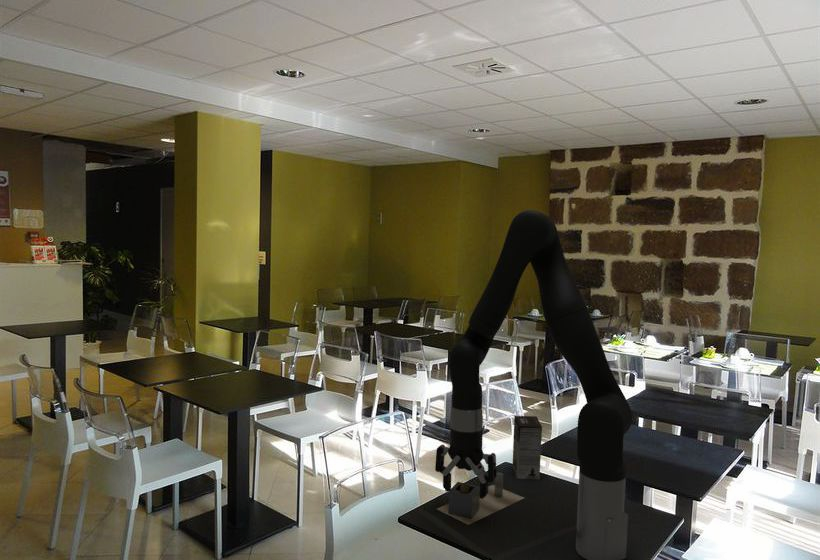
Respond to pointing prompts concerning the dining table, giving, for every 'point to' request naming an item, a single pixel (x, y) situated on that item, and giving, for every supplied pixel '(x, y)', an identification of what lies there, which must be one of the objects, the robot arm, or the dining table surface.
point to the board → (487, 501)
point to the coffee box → (527, 447)
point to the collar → (464, 501)
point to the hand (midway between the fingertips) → (465, 493)
